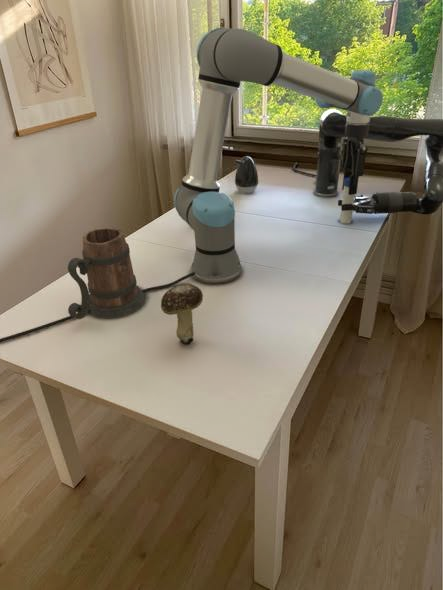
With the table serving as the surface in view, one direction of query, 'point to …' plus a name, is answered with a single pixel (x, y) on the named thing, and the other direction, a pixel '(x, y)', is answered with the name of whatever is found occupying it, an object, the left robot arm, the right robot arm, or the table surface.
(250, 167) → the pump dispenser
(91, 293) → the tankard
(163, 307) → the mushroom
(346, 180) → the lid
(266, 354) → the table surface
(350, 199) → the jar
